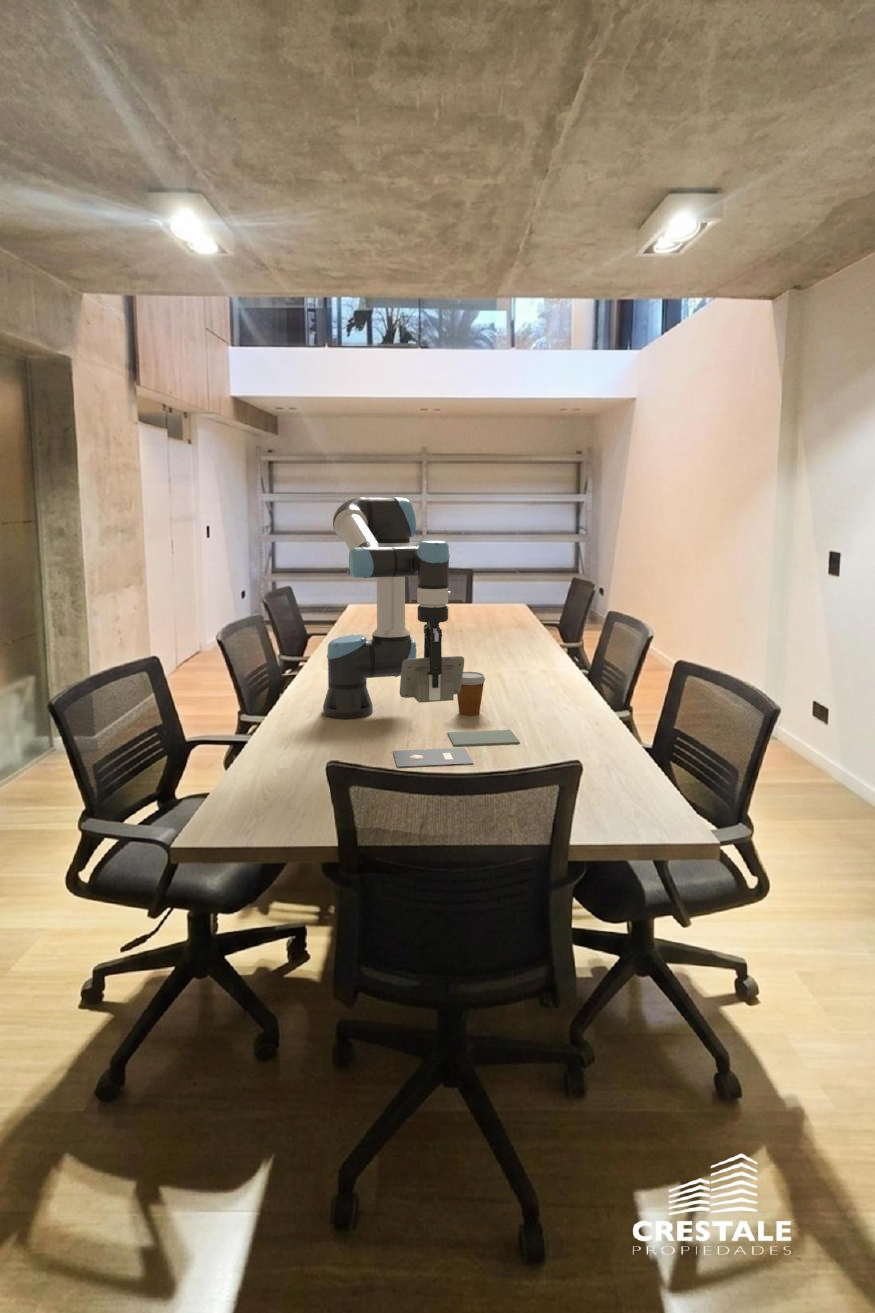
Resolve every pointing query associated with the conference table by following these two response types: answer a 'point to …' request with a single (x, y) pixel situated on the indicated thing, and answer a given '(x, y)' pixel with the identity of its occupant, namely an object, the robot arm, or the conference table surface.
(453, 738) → the side mat
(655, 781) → the conference table surface
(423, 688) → the digital clock
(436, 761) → the gray plate
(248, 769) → the conference table surface
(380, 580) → the robot arm
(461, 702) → the disposable coffee cup
